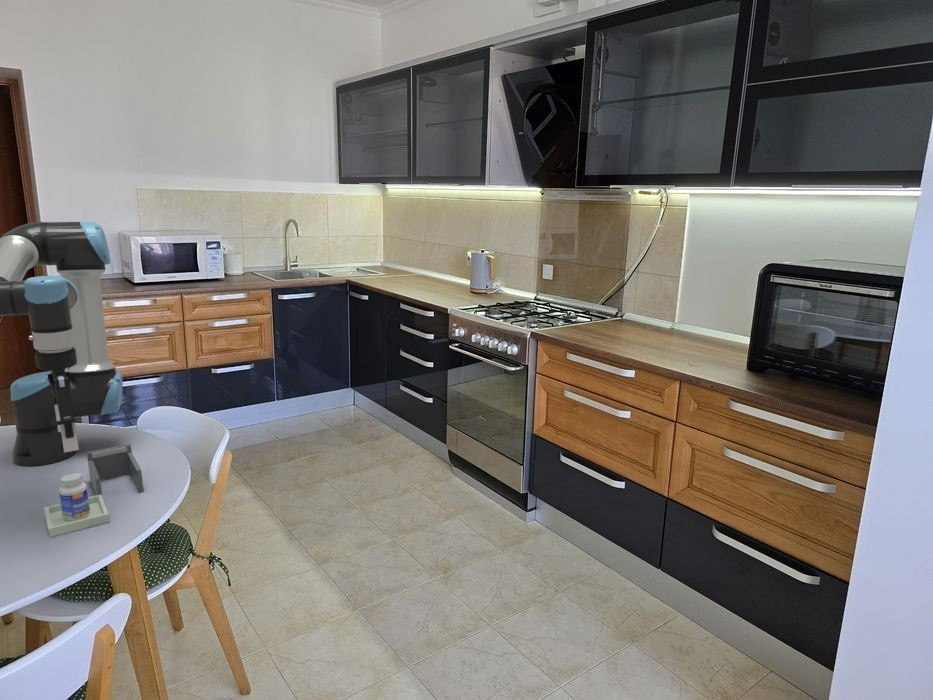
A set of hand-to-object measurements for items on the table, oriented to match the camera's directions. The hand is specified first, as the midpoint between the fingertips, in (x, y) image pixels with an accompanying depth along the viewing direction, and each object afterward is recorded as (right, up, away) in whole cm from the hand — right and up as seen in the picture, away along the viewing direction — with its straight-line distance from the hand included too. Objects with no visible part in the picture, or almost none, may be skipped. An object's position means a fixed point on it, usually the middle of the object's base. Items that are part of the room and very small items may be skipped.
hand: (68, 440), depth 142 cm
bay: (0, -15, +20) cm, 24 cm away
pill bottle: (0, -18, +4) cm, 19 cm away
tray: (0, -19, +4) cm, 19 cm away
